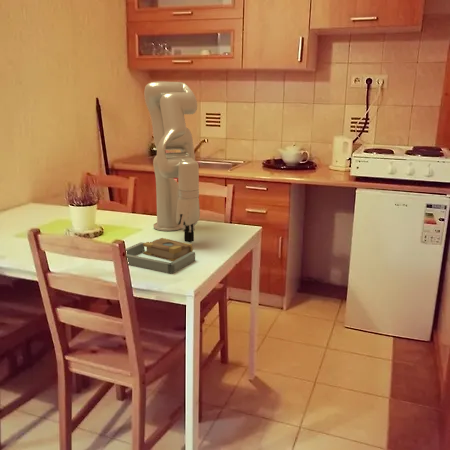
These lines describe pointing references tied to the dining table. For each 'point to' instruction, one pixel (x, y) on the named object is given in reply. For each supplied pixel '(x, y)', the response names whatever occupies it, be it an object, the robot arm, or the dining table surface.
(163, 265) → the tray
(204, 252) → the dining table surface
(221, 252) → the dining table surface
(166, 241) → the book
